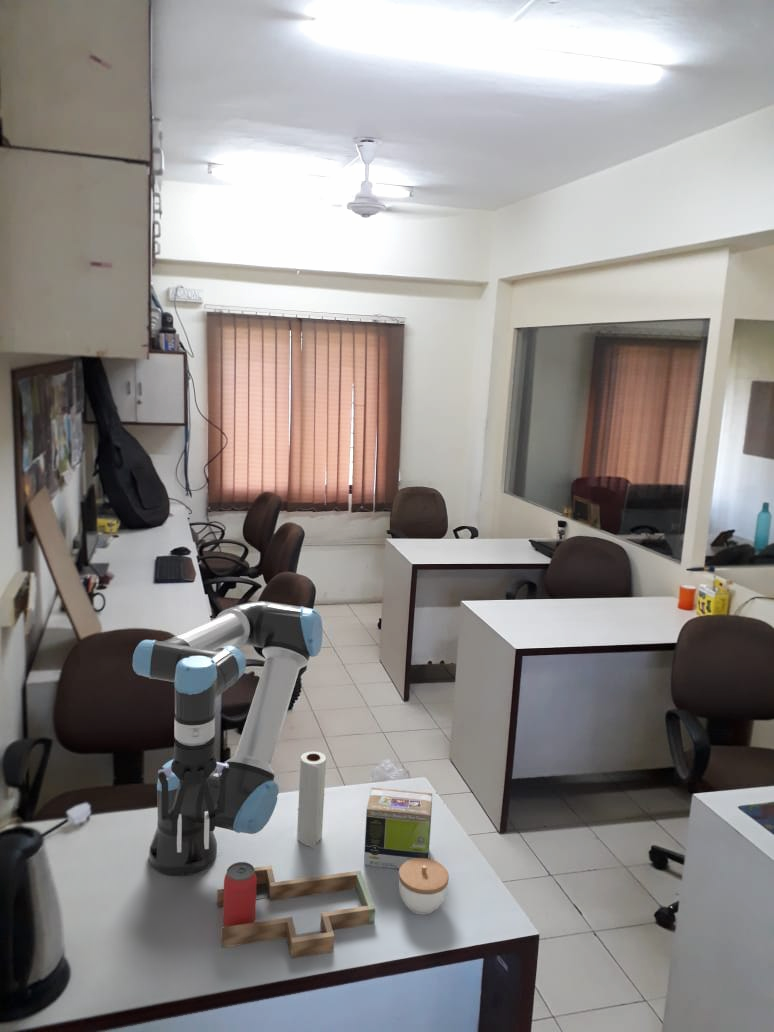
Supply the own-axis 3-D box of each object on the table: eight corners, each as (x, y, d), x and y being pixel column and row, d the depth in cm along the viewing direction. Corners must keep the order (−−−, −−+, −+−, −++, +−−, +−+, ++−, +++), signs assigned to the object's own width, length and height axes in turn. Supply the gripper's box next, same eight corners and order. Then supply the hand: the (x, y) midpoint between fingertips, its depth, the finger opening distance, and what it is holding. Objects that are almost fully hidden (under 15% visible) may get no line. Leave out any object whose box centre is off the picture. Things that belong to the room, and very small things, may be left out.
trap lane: (224, 969, 145) (224, 953, 144) (215, 886, 167) (215, 872, 166) (381, 943, 154) (383, 928, 153) (353, 868, 176) (354, 854, 175)
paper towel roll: (302, 827, 190) (306, 748, 186) (325, 832, 189) (329, 753, 184) (291, 844, 183) (294, 762, 179) (314, 849, 182) (319, 767, 178)
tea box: (429, 847, 186) (433, 792, 183) (427, 874, 176) (431, 816, 173) (367, 840, 187) (371, 785, 184) (362, 866, 177) (366, 808, 174)
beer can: (261, 916, 159) (263, 865, 157) (245, 937, 153) (247, 884, 150) (233, 907, 161) (234, 856, 159) (216, 928, 155) (217, 875, 153)
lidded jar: (439, 886, 172) (442, 849, 170) (451, 921, 161) (454, 881, 159) (392, 889, 170) (395, 852, 168) (401, 924, 159) (404, 884, 158)
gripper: (146, 750, 140) (145, 864, 144) (243, 743, 145) (239, 852, 150) (146, 731, 147) (146, 840, 151) (239, 724, 152) (236, 830, 157)
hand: (192, 846), depth 151 cm, fingers open, 4 cm apart
